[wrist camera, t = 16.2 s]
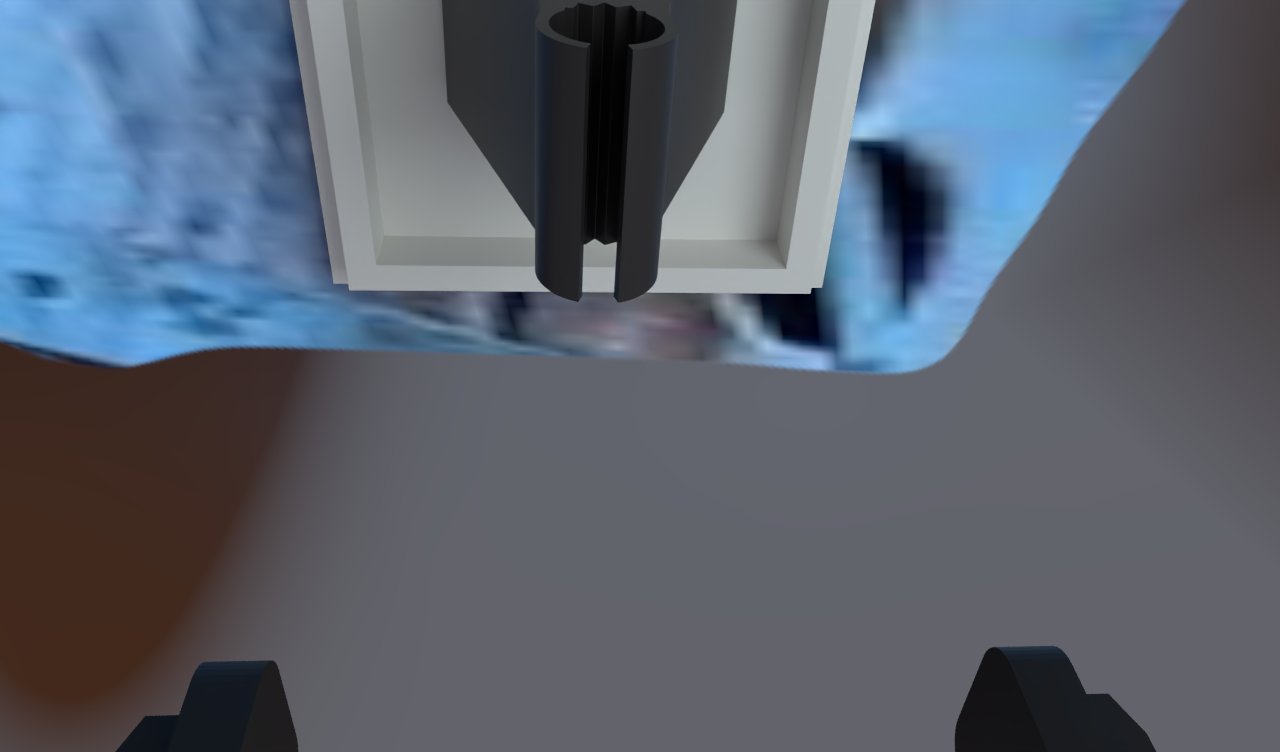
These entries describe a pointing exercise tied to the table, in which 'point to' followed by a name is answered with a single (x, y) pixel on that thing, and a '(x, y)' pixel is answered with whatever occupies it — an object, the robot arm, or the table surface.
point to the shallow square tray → (492, 220)
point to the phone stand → (590, 117)
